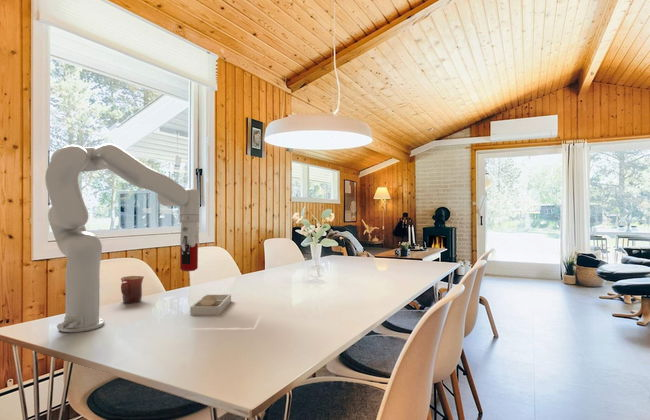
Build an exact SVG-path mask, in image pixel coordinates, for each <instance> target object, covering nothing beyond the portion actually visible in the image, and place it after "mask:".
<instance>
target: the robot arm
mask: <svg viewBox="0 0 650 420" xmlns="http://www.w3.org/2000/svg"><path fill="white" fill-rule="evenodd" d="M103 170H109V171H110V172H112V173H113V174H115V175H116V176H118V177H119V178H121V179H123V180H124V181H126V182H127V183H128V184H131V185H132V186H134V187H137V188H140V189H145V190H149V191H151V192H153V193H155V194H157V201H158V203H159V204H161V205H162V206H164V207H168V208H169V207H179V223H180V243H179V244H180V245H181V247H182V264H190V261H191V254H190V246H191V247H194V246H195V244H196V243H197V244H198V246H199V244H200V235H199V234H200V232H199V231H200V230H199V223H200V192H199V190H198V189H195V188H184V186H183V185H181V184H179V183H178V182H176V181H175V180H174V179H172V178H170V177H169V176H167V175H165V174H163V173H161V172H159V171H157V170H155V169H153V168H150V167H149V166H148V165H145V164H144V163H143V162H141V161H140V160H138V159H137V158H135V157H134V156H133V155H131V154H130V153H128V151H125V150H124V149H123V148H121V147H119V146H118V145H116V144H113V143H105V144H104V143H103V144H101V145H97V146H91V147H83V146H80V145H76V144H70V145H66V146H63V147H61V148H58V149H57V150H56V151H54V152H53V153H52V154H51V159H50V162H49V163H48V165H47V169H46V171H45V179H44V180H45V187H46V190H47V193H48V196H49V201H50V203H51V207H49V210H48V213H47V218H48V222H49V226H50V228H51V232H52V234H53V236H54V239H55V242H56V244H57V247H58V249H59V250H60V252H61V253H62V255H64V256H65V257H67V258H66V259H67V260H66V264H65V265H66V266H65V308H64V309H65V310H64V311H65V313H64V314H65V317H64V319H63V321H62V322H60V323H58V324H57V325H56V328H57V330H58V331H60V332H62V333H63V332H64V333H80V332H87V331H91V330H95V329H98V328H101V327H103V326H104V325H105V320H104V319H103V318H101V317H100V286H101V285H100V280H101V279H100V272H101V271H100V270H101V269H100V268H101V260H102V259H101V258H102V254H103V253H102V251H103V245H102V243H101V239H100V238H99V237H98V236H97V235H95V234H94V233H92V232H89V231H87V229H86V226H85V225H87V223H88V221H89V211H88V209H87V206H86V204H85V201H84V197H83V195H82V193H81V189H80V188H81V187H80V185H79V176H80V174H81V173H85V172H93V171H95V172H96V171H103ZM186 245H189V246H186ZM187 248H188V250H187Z"/></svg>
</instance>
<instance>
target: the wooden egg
mask: <svg viewBox="0 0 650 420" xmlns="http://www.w3.org/2000/svg"><path fill="white" fill-rule="evenodd" d="M206 295H207V296H205V295H204V296H205V297H203V296H202V297H203V298H202V297H201V298H202V300H201V306H216V305H217V300H216V298H215V297H214V296H212V295H213V294H206Z"/></svg>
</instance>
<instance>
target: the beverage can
mask: <svg viewBox="0 0 650 420" xmlns="http://www.w3.org/2000/svg"><path fill="white" fill-rule="evenodd" d="M186 246H189V245H186ZM179 247H180V248H179V249H180V250H179V251H180V253H179V258H180V259H179V269H180V270H181V271H183V272H194V271H197V269H198V268H199V264H198V263H199V257H198V256H199V254H198V253H199V250H198V249H199V248H198V247H199V245H198V244H197V243H196V244H195V246H194V247H191V246H190V254H191V261H190V264H182V247H181V244H180V246H179ZM187 250H188V248H187Z"/></svg>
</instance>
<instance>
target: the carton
mask: <svg viewBox="0 0 650 420" xmlns="http://www.w3.org/2000/svg"><path fill="white" fill-rule="evenodd" d="M207 295H208V294H205V295H203V296H202V297H201V298H200V299H198V300H197V301H196V302H195V303H193V304H192V305H191V306H189V307H190V308H189V309H190V310H189V312H190V313H189V315H190V316H220V315H221V314H222V313H223V312H224V310H225V309H226V308H227V307H228V306H229V305H230V303H231V302H232V294H211V295H212V296H214V297H215V298H216V300H217V305H216V306H201V300H202V298H203V297H205V296H207Z"/></svg>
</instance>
